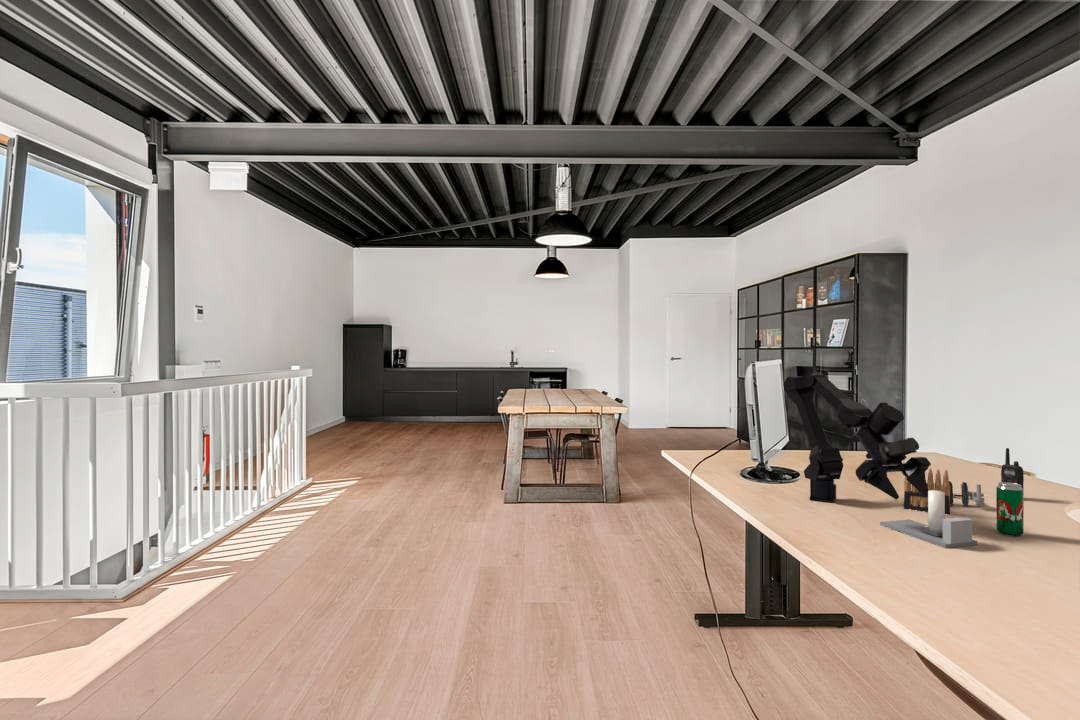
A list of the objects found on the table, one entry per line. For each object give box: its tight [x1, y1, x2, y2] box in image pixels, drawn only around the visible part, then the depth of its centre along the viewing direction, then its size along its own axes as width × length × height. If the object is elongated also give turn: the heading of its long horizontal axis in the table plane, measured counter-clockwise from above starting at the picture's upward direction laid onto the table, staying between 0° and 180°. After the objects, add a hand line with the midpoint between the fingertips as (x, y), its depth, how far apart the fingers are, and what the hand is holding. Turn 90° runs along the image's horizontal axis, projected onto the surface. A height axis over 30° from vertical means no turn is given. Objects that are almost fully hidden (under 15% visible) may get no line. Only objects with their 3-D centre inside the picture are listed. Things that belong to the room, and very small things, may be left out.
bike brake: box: [934, 480, 985, 508], centre depth 169 cm, size 14×7×20 cm
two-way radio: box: [1000, 447, 1025, 490], centre depth 171 cm, size 6×4×15 cm
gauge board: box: [879, 516, 978, 549], centre depth 137 cm, size 18×9×6 cm, turn 13°
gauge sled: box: [920, 490, 946, 536], centre depth 135 cm, size 4×7×10 cm, turn 103°
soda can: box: [995, 481, 1025, 537], centre depth 137 cm, size 5×5×12 cm
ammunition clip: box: [903, 467, 951, 516], centre depth 157 cm, size 11×2×12 cm, turn 53°
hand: (912, 497), depth 141 cm, fingers open, 9 cm apart
